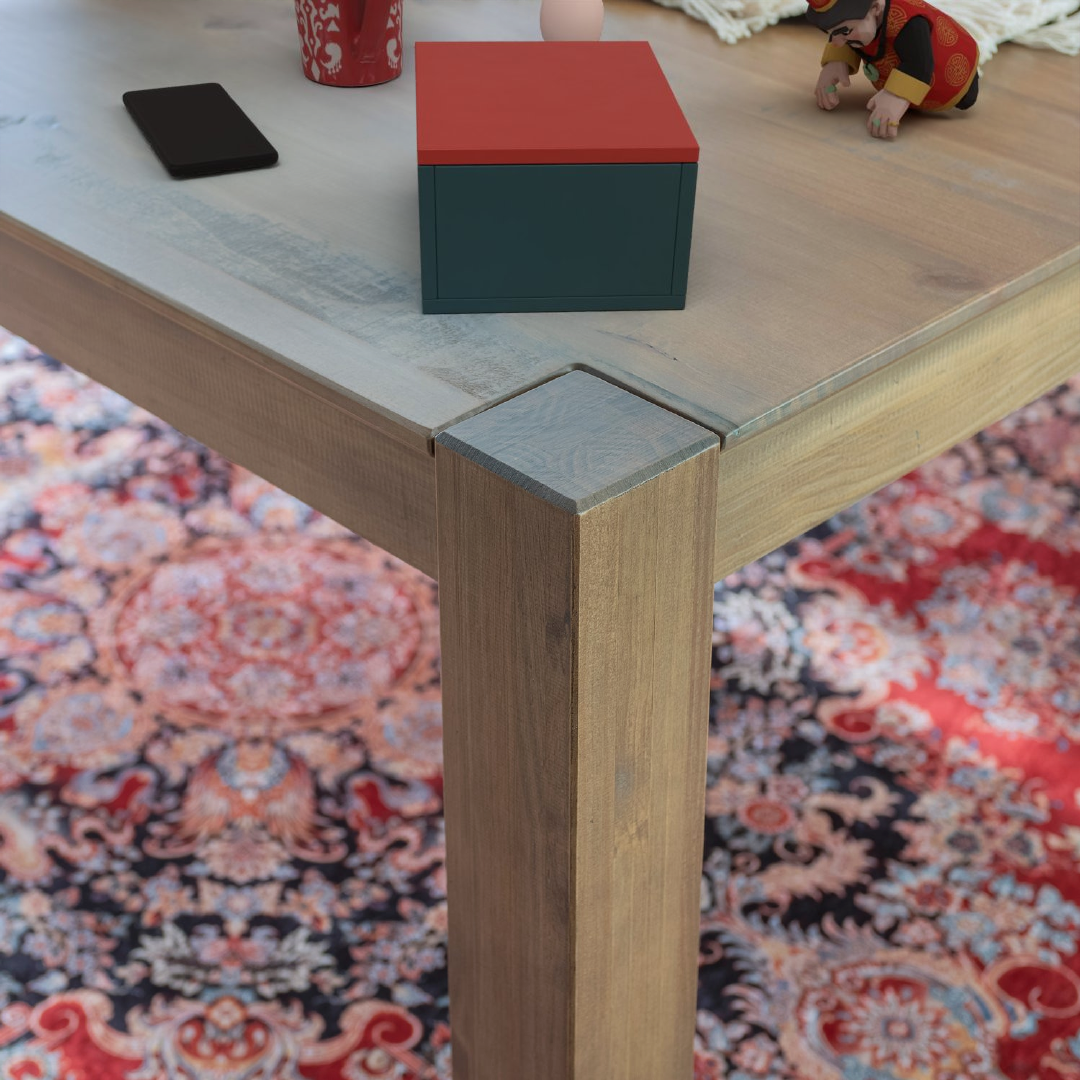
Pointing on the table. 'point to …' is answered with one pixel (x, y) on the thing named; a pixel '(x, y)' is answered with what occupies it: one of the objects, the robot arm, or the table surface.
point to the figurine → (895, 57)
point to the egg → (571, 20)
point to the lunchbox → (555, 236)
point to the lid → (546, 104)
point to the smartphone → (198, 129)
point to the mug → (350, 40)
